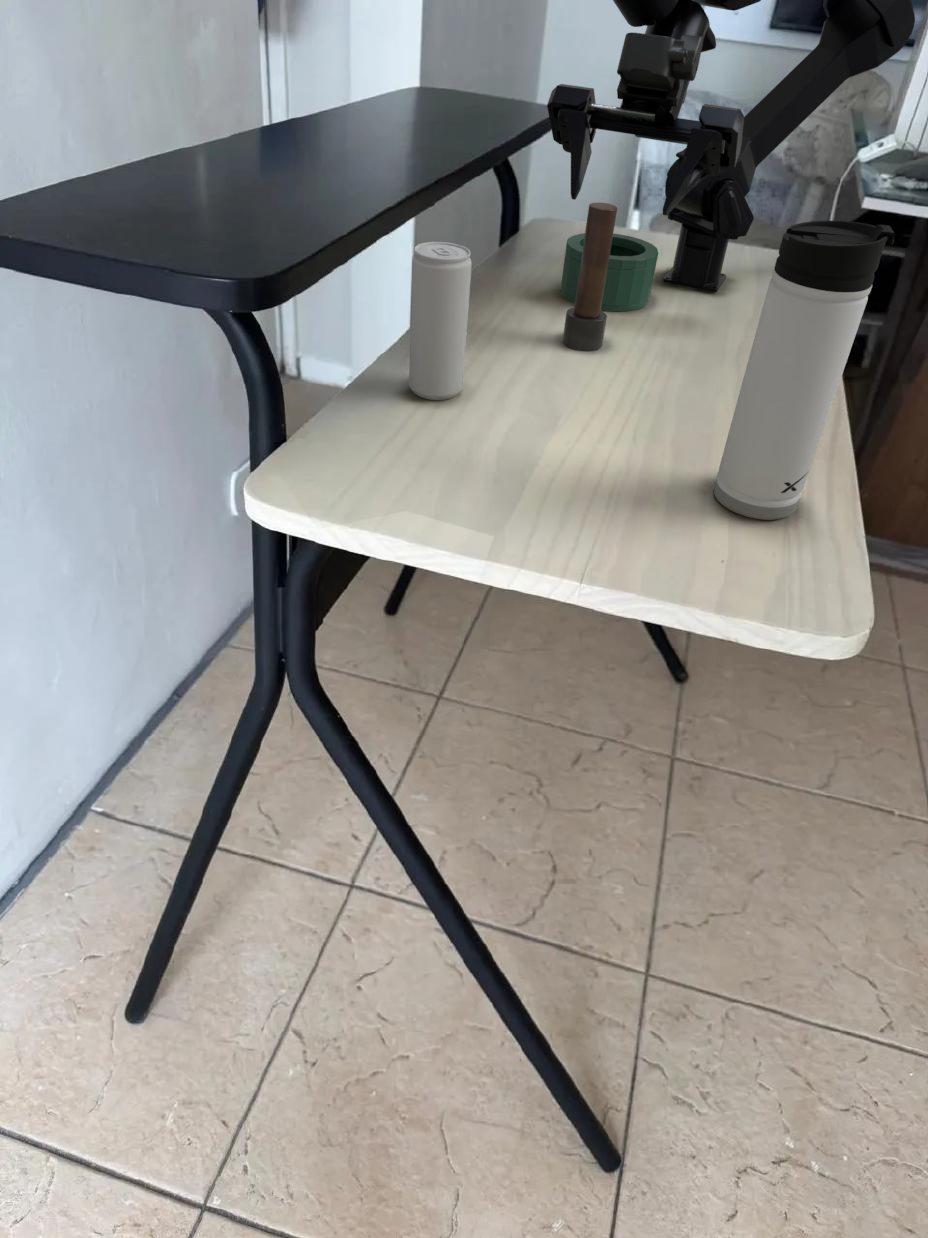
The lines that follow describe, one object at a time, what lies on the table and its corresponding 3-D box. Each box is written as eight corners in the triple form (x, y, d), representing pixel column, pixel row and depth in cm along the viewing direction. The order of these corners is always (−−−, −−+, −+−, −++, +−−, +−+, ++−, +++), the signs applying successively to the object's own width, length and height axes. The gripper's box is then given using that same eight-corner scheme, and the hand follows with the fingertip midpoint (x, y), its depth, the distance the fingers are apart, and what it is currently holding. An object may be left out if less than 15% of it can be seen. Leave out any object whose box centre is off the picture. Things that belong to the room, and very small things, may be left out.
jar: (575, 275, 110) (582, 227, 106) (657, 291, 107) (667, 242, 104) (548, 299, 102) (555, 248, 99) (636, 317, 100) (645, 265, 96)
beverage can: (422, 405, 79) (428, 261, 71) (398, 383, 82) (402, 243, 75) (471, 397, 81) (483, 256, 73) (447, 376, 84) (455, 239, 77)
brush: (569, 332, 95) (588, 197, 87) (606, 340, 94) (629, 204, 86) (557, 345, 92) (576, 206, 84) (595, 353, 91) (618, 214, 83)
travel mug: (804, 528, 67) (904, 243, 55) (713, 513, 68) (791, 228, 56) (797, 487, 72) (888, 216, 60) (712, 473, 73) (784, 203, 60)
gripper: (566, -17, 85) (513, 134, 84) (769, 6, 81) (717, 166, 79) (578, 72, 96) (532, 207, 95) (758, 96, 91) (712, 239, 90)
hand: (618, 204), depth 89 cm, fingers open, 9 cm apart
